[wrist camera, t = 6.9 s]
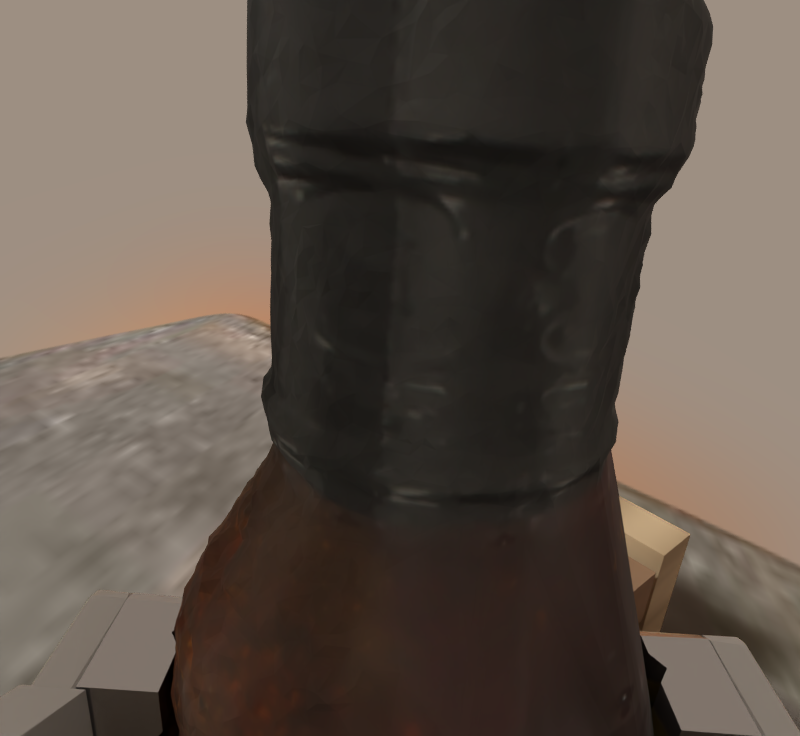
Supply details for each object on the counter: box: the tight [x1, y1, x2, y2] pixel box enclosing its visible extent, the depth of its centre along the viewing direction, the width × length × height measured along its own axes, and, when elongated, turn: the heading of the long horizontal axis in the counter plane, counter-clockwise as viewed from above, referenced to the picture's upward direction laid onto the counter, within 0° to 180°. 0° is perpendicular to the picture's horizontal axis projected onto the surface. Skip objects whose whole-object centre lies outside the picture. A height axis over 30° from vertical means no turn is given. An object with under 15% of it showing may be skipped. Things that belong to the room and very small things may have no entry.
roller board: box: [619, 496, 690, 632], centre depth 24 cm, size 9×11×5 cm
